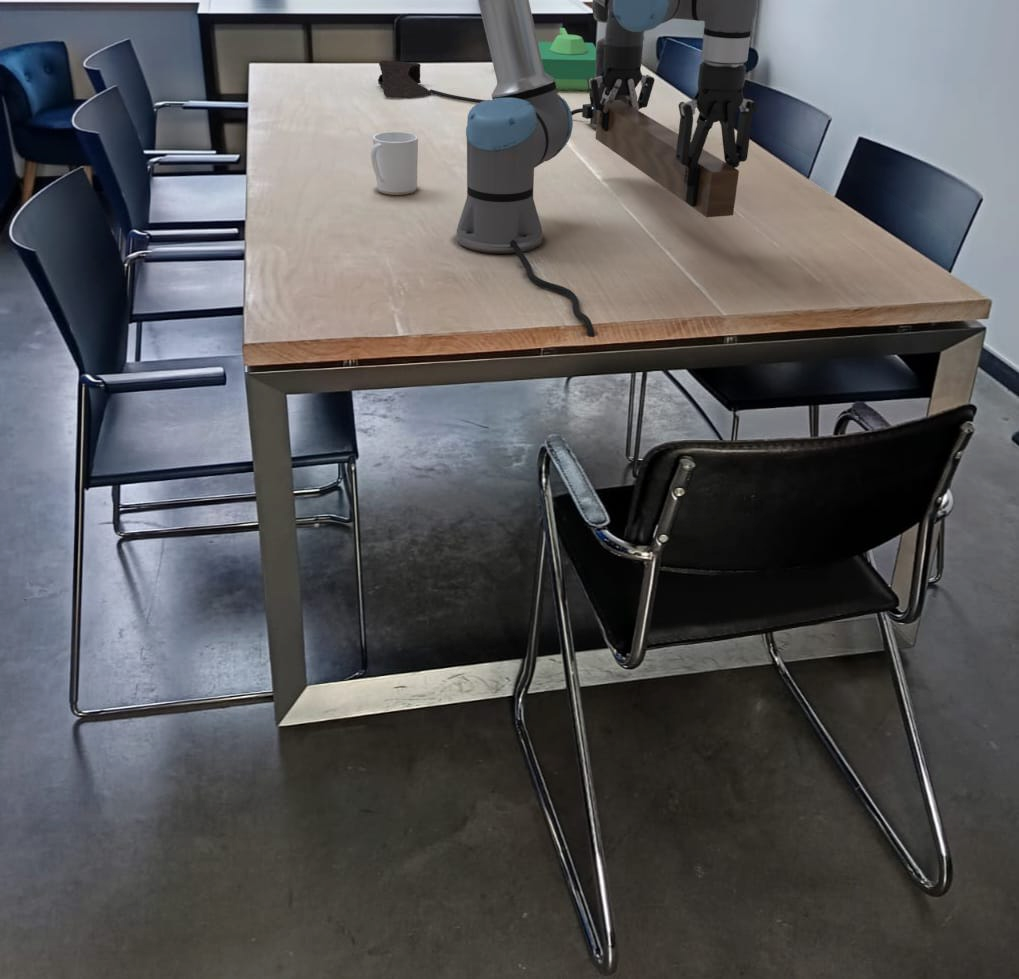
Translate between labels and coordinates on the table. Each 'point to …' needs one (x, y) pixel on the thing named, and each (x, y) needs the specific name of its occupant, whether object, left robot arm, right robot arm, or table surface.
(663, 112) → the table surface
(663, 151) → the beam
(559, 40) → the toy tank
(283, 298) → the table surface
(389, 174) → the mug
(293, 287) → the table surface
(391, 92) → the axe head
